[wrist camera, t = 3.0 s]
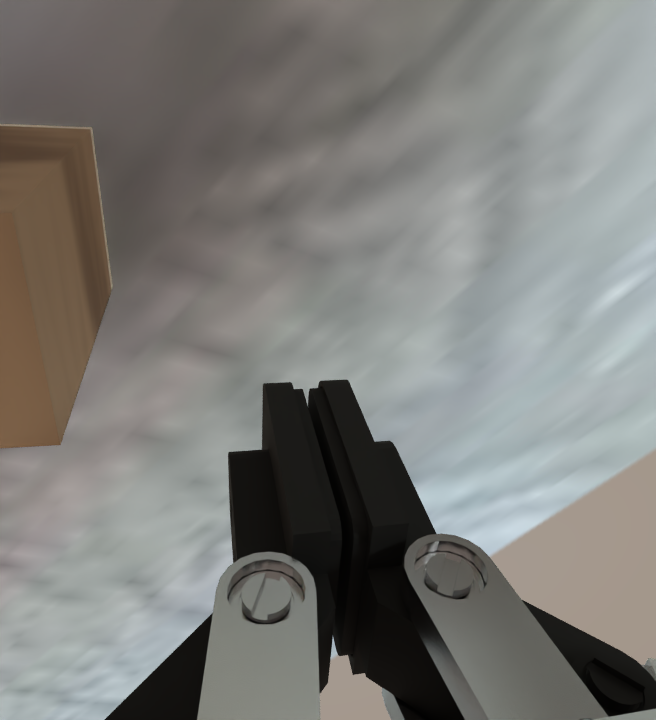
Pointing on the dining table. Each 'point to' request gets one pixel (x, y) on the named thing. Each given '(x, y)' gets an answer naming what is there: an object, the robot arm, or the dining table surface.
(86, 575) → the dining table surface
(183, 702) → the robot arm
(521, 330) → the dining table surface
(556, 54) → the dining table surface
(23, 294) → the brown rectangular block
